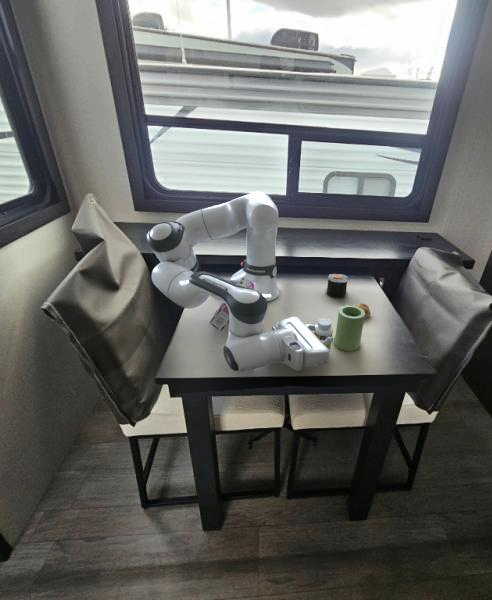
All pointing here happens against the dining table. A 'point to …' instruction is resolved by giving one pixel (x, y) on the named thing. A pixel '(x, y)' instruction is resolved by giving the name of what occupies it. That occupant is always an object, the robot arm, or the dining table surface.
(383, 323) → the dining table surface
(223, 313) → the candy bar box
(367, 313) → the pastry
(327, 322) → the supplement bottle
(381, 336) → the dining table surface
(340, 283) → the sushi
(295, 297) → the dining table surface
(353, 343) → the green vase
